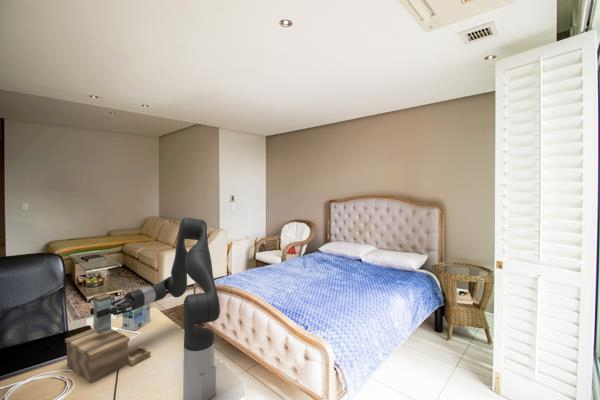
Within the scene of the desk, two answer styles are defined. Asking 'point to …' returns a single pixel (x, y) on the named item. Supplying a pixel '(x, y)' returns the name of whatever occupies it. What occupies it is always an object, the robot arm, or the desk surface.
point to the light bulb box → (136, 318)
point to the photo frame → (127, 331)
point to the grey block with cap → (100, 304)
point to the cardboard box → (101, 353)
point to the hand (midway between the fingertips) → (93, 313)
